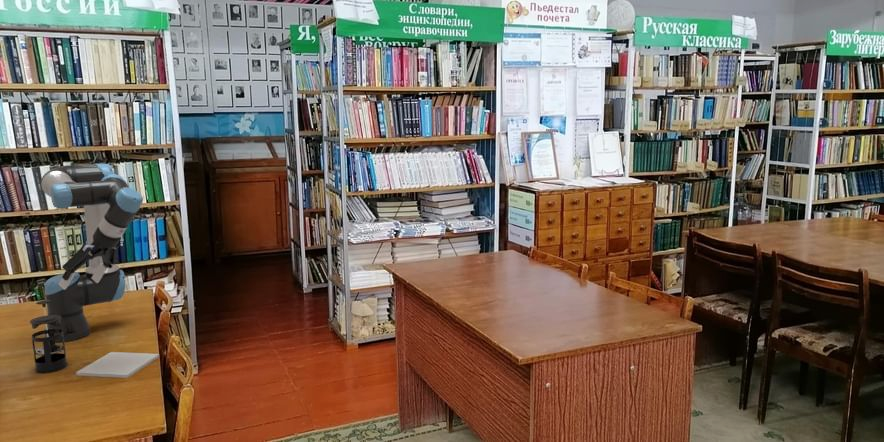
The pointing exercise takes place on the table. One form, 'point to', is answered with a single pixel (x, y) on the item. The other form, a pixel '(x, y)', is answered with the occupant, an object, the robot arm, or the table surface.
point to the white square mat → (118, 364)
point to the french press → (48, 344)
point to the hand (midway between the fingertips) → (78, 283)
